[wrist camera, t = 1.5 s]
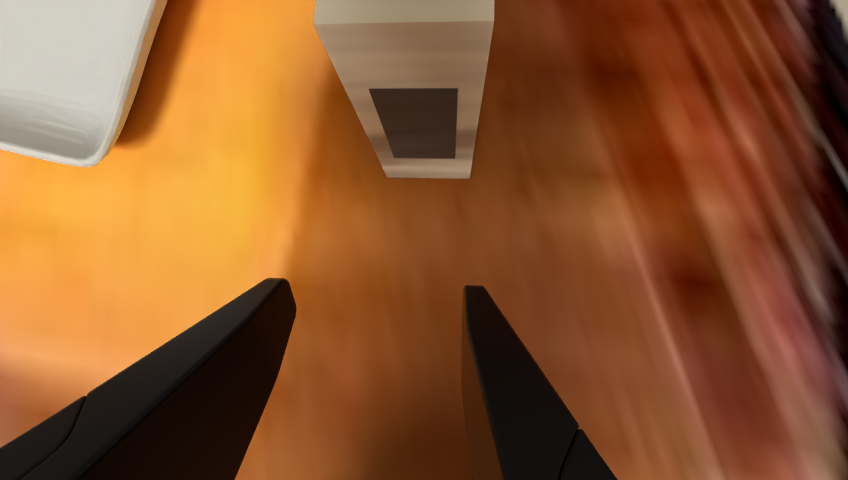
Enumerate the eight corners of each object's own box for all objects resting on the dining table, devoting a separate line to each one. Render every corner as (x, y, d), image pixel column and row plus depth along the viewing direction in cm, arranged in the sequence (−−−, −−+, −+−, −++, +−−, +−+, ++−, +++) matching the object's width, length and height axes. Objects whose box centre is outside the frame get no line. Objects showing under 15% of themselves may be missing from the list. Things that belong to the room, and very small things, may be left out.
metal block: (469, 179, 21) (494, 22, 10) (387, 178, 22) (313, 25, 10) (471, 102, 22) (495, -127, 10) (392, 102, 23) (329, -119, 11)
